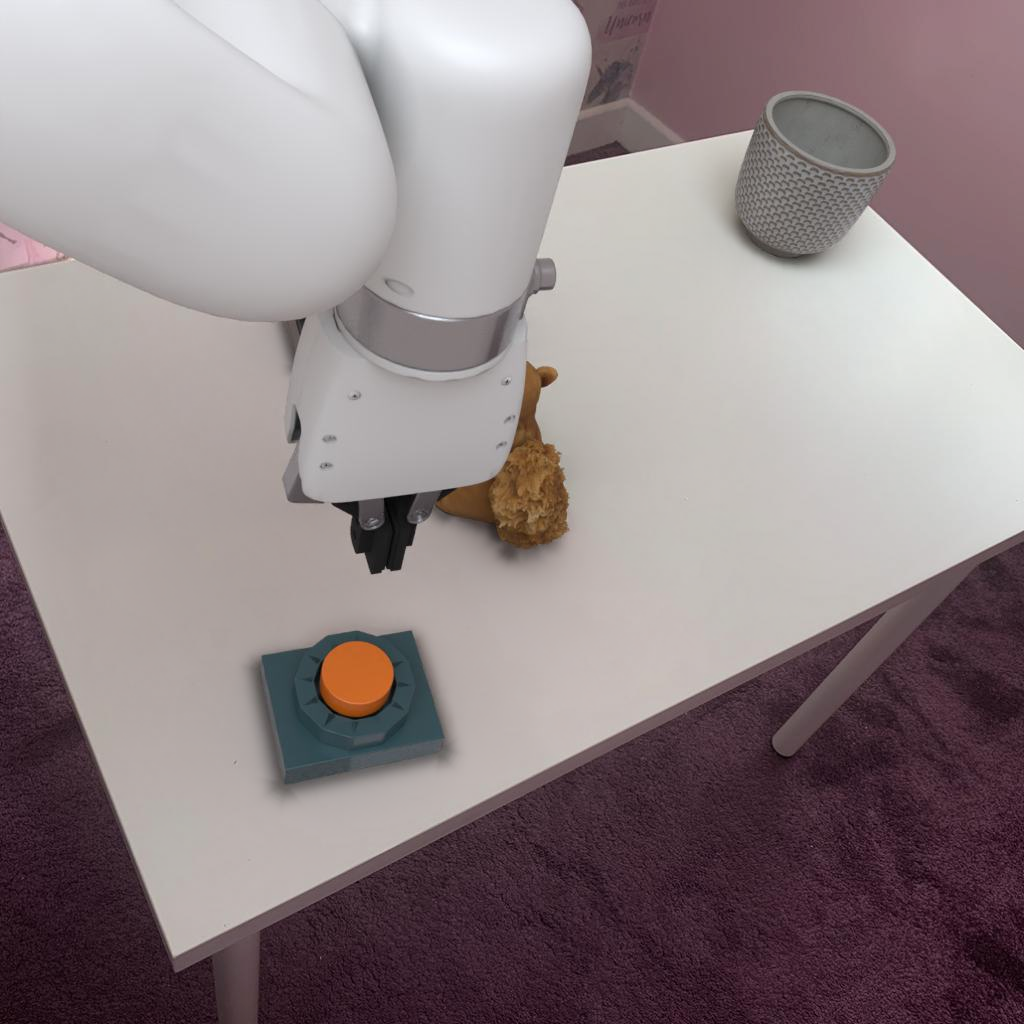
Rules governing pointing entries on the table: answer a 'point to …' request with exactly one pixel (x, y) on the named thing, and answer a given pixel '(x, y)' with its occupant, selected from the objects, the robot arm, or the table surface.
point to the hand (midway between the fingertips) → (378, 550)
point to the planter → (810, 172)
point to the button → (356, 679)
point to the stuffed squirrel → (521, 481)
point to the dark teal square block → (342, 739)
